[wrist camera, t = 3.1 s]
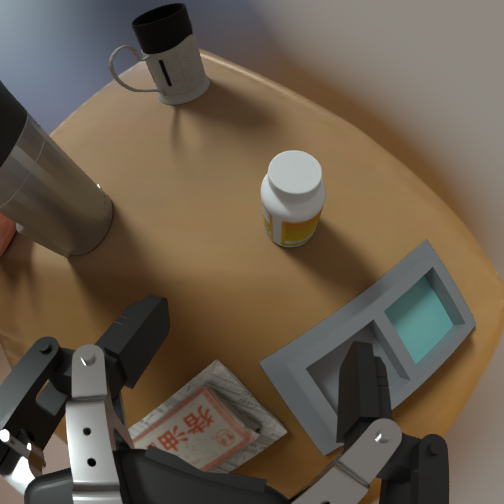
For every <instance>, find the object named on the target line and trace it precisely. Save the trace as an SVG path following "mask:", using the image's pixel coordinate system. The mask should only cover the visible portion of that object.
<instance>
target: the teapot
mask: <svg viewBox="0 0 504 504" xmlns="http://www.w3.org/2000/svg"><path fill="white" fill-rule="evenodd" d="M16 230H17V229H16V223H15V222H14V221H12V220H10V219H9V218H7V217H6V216H4V215H2V214H1V213H0V256H1V255H2V254H3V253H4V251H5V250H6V248H7V246H8V245H9V243H10V241H11V239H12V238H13V236H14V234H15V232H16Z"/></svg>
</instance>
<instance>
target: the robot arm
mask: <svg viewBox="0 0 504 504" xmlns="http://www.w3.org/2000/svg"><path fill="white" fill-rule="evenodd" d="M0 213H1V214H2V215H4V216H6V217H7V218H9V219H10V220H12V221H14V222H15V223H16V229H17V232H18V233H19V234H21V235H23V236H25V237H27V238H29V239H30V240H32V241H34V242H36V243H38V244H40V245H42V246H44V247H46V248H48V249H50V250H52V251H54V252H56V253H58V254H60V255H62V256H64V257H66V258H68V257H69V256H70V255H82V254H85V253H87V252H90V251H91V250H92V249H94V248H95V247H96V246H97V245H98V244H99V243H100V242H101V241H102V239H103V238H104V236H105V235H106V233H107V231H108V229H109V226H110V223H111V220H112V214H113V207H112V202H111V200H110V198H109V196H108V195H107V194H106V193H105V192H104V191H103V190H102V189H101V188H100V187H99V186H98V185H97V184H96V183H95V182H94V181H93V180H92V179H91V178H90V177H89V176H88V175H87V174H86V173H85V172H84V171H83V170H82V169H81V168H80V167H79V166H78V165H77V164H76V163H75V162H74V161H73V160H72V159H71V158H70V157H69V156H68V155H67V154H66V153H65V152H64V151H63V150H62V149H61V148H60V147H59V146H58V145H57V144H56V142H55V141H54V140H53V139H52V138H51V137H50V136H49V135H48V134H47V133H46V132H45V131H44V130H43V129H42V127H41V126H40V125H39V124H38V123H37V122H36V121H35V120H34V119H33V117H32V116H31V115H30V114H29V113H28V112H27V111H26V110H25V108H24V107H23V106H22V105H21V104H20V103H19V102H18V101H17V100H16V98H15V97H14V96H13V95H12V94H11V93H10V92H9V91H8V90H7V89H6V87H5V86H4V85H3V83H2V82H1V81H0ZM169 328H170V321H169V312H168V303H167V299H166V298H164V297H161V296H157V295H154V294H148V295H147V296H146V297H145V299H144V300H143V301H142V302H138V301H137V302H135V303H134V304H132V305H130V306H128V307H127V308H126V309H125V310H124V311H123V312H122V314H121V316H119V317H118V318H117V319H116V321H115V322H114V323H113V324H112V325H111V326H110V327H109V328H108V329H107V331H106V332H105V333H104V334H103V335H102V336H101V338H100V339H99V340H98V341H97V342H96V343H95V344H94V345H91V344H89V345H84V346H81V347H80V348H78V349H77V350H72V349H66V348H61V347H60V346H59V344H58V342H57V340H56V339H55V338H53V337H43V338H40V339H39V340H37V341H36V342H35V343H34V345H33V346H32V347H31V348H30V349H29V350H28V352H27V353H26V354H25V355H24V356H23V358H22V359H21V360H20V361H19V362H18V364H17V365H16V366H15V367H14V369H13V370H12V371H11V372H10V374H9V375H8V376H7V378H6V379H5V380H4V382H3V383H2V384H1V386H0V474H1V475H2V476H3V477H4V478H5V479H6V480H7V481H8V482H9V483H10V484H11V485H12V486H13V487H14V488H15V489H16V490H17V491H19V492H20V493H21V494H22V495H23V496H24V502H25V503H24V504H357V503H358V502H359V501H360V500H361V499H362V498H363V497H364V496H365V494H366V493H367V492H368V490H369V488H370V486H369V484H370V483H371V481H372V480H373V479H374V478H375V477H377V478H380V479H382V482H381V491H380V500H379V504H449V464H448V449H447V444H446V442H445V440H444V439H443V438H442V437H441V436H439V435H436V434H430V435H427V436H425V437H424V438H423V439H419V438H415V437H412V436H409V435H406V434H404V433H402V432H401V429H400V427H399V426H398V425H397V424H396V423H395V422H394V421H393V418H392V409H391V400H390V391H389V387H388V386H389V384H388V379H387V377H388V376H387V370H386V366H385V364H384V362H383V361H382V359H381V357H379V356H374V353H373V346H372V344H371V343H368V342H361V341H353V343H352V344H351V347H350V349H349V351H348V353H347V355H346V356H345V358H344V360H343V362H342V364H341V367H340V371H339V387H338V417H337V435H336V443H344V451H342V452H341V453H340V454H339V456H338V457H337V458H336V459H335V460H334V461H332V462H331V463H330V464H329V465H328V466H327V467H326V468H325V469H324V470H323V471H322V472H321V473H320V474H319V475H318V476H317V477H315V478H314V479H313V480H312V481H311V482H310V483H308V484H307V485H306V486H304V487H303V488H302V489H301V490H299V491H298V492H297V493H296V494H294V495H293V496H292V497H291V498H289V499H287V498H286V497H285V496H284V495H283V494H281V493H280V492H278V491H277V490H275V489H273V488H272V487H270V486H267V485H266V481H267V480H265V479H259V478H254V477H249V476H245V475H240V474H230V473H211V472H203V471H201V470H199V469H197V468H196V467H194V466H192V465H191V464H189V463H187V462H186V461H184V460H183V459H181V458H180V457H178V456H177V455H174V454H171V453H169V452H166V451H164V450H161V449H159V448H156V447H154V446H152V445H149V447H148V449H135V448H134V444H133V441H132V438H131V436H130V433H129V431H128V427H127V423H126V418H125V412H124V407H123V401H122V395H121V389H122V388H123V386H124V385H125V386H127V387H129V388H131V389H133V387H134V386H135V384H136V383H137V381H138V380H139V378H140V376H141V375H142V373H143V372H144V370H145V369H146V367H147V366H148V364H149V362H150V361H151V359H152V358H153V356H154V355H155V353H156V352H157V350H158V349H159V347H160V346H161V344H162V343H163V341H164V340H165V338H166V336H167V335H168V332H169ZM47 380H49V383H48V384H47V385H46V387H45V388H44V390H43V391H42V392H41V394H40V395H39V397H38V398H37V400H36V396H37V394H38V392H39V391H40V389H41V388H42V387H43V385H44V384H45V382H46V381H47ZM65 413H66V424H67V438H68V448H69V456H70V463H71V468H67V469H64V470H60V471H57V472H53V473H49V474H45V475H42V469H44V468H45V466H46V462H45V460H44V454H43V450H44V448H45V446H46V445H47V443H48V441H49V439H50V438H51V436H52V434H53V433H54V431H55V429H56V428H57V426H58V424H59V423H60V421H61V419H62V418H63V416H64V414H65Z"/></svg>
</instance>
